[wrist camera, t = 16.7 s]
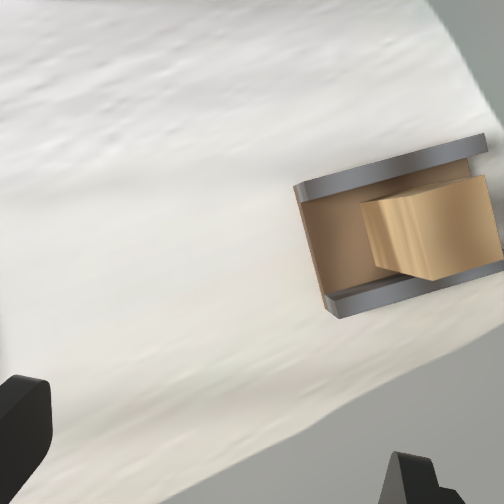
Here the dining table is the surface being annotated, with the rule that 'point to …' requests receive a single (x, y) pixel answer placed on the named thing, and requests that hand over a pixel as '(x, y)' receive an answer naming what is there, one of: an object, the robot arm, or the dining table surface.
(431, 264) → the oak block
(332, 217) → the walnut track
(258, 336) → the dining table surface
